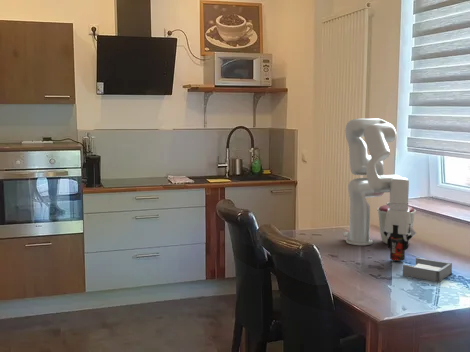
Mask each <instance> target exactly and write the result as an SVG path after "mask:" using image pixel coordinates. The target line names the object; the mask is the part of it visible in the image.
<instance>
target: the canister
mask: <svg viewBox="0 0 470 352" xmlns="http://www.w3.org/2000/svg"><path fill="white" fill-rule="evenodd" d="M388 209H390V208H389V206H387V204H384V205H383V204H382V205H381V206H379V207H377V209H376V210H377V212H378V222H379V223H378V225H379V231H380V232H379V233H380V239H381V242H383V243H384V244H386V245H387V240H388V239H387V238H386V236H385V234H384V233H383V232H382V231H381V228H382V227H383V226H384V225H385V219H386V214H387V210H388ZM408 210H409V211H410V216H411V227H412V228H413V229H414V227H413V226H414V219H415V214H416V212H417V210H416V209H415V208H413V207H412V206H409V205H408ZM410 234H411V232H410V233H408V235H410ZM410 242H411V239H410V240H408V244H409V243H410Z"/></svg>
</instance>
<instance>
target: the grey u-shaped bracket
mask: <svg viewBox="0 0 470 352" xmlns="http://www.w3.org/2000/svg"><path fill="white" fill-rule="evenodd" d="M417 264H424V265H430V266H434V267H440V268H441V269H439V270H438V271H437V270H431V269H426V268H420V267H415V265H417ZM415 265H408V264H403V265H402V275H403V276H405V275H406V276H405V277H410V276H411V278H415V277H416V278H417V279H420V280H421V279H422V280H427V281H433V282H437V283H439V282H441V281H443V280H444V279H446V278H447V277H448V276H450V275H452V270H453V269H452V268H453V263H452V262H445V261H442V260H441V261H440V260H435V259H429V258H428V259H427V258H423V257H422V258H421V257H415Z"/></svg>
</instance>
